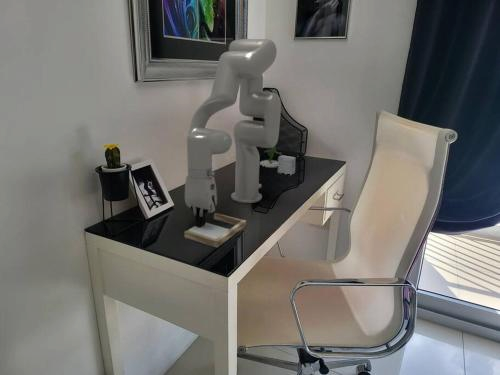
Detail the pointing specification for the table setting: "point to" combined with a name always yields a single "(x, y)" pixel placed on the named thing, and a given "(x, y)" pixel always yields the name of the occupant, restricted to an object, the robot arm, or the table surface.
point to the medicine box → (286, 164)
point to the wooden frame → (223, 238)
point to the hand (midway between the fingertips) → (200, 225)
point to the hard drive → (209, 230)
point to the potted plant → (270, 162)
